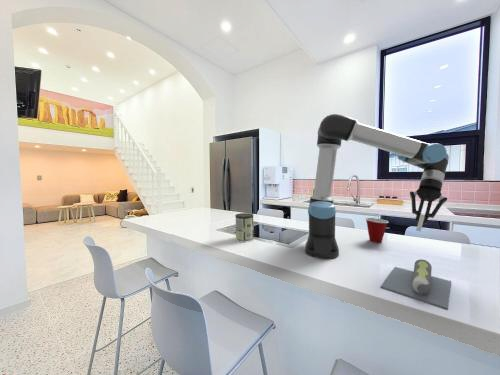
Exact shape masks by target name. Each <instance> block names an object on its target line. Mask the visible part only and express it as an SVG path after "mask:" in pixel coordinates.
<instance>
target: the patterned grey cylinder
mask: <svg viewBox="0 0 500 375" xmlns="http://www.w3.org/2000/svg"><path fill="white" fill-rule="evenodd" d="M413 271H414V273H413V281H412V282H413V284H412V286H413V289H414V290H415V291H416V292H417V293H419V294H427V293H428V292H429V291H430V287H431V276H432V264H431V263H430V262H428V261H427V260H426V259H422V258H421V259H417V260H416V261H415V262H414V266H413Z"/></svg>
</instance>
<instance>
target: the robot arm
mask: <svg viewBox="0 0 500 375" xmlns="http://www.w3.org/2000/svg"><path fill="white" fill-rule="evenodd" d="M342 141H345V142H348V141H354V142H356V143H357V142H358V143H361V144H363V145H366V146H370V147H373V148H376V149H379V150H383V151H385V152H389V153H393V154H395V155H397V156H396V158H397V159H398V160H399V161H401V162H403V163H406V164H409V165H412V166H415V167H416V168H419V169H422V170H423V173H422V174H421V179H420V183H419V185H418V189H416V191H410V192H409V196H410V199H411V213H412V214H413V215H416V216H415V220H414V222H415V223H417V226H416V230H415V231H417V232H421V231H422V228H423V225H427V223H428V221H429V220H428V219H430V218H431V219H433V218H435V217H436V215H437V213H438V212H439V210H440V209H441V207H442V205H444V204H445V203H447V201H448V197H445V196H443V195H442V193H441V192H442V188H443V183H444V180H445V175H446V173H447V172H446V171H447V169H448V164H449V159H450V158H449V156H450V155H449V154H448V153H447V148H446V146H444V145H443V144H441V143H437V142H435V143H433V142H432V143H427V142H424V141H421V140H417V139H414V138H411V137H409V136H408V137H407V136H404V135H401V134H399V133H398V134H397V133H394V132H390V131H387V130H384V129H380V128H377V127H373V126H370V125H367V124H363V123H360V122H359V121H358V120H357V119H356V118H352V117H349V116H346V115H343V114H342V115H341V114H338V113H337V114H336V113H334V114H329V115H326V116H325V117H324V118H323V119H322V120H321V121H320V124H319V127H318V130H317V142H316V146H317V148H318V149H319V150H318V158H317V166H316V173H315V181H314V188H313V189H314V190H313V194H312V195H311V196H310V197H309V205H308V208H307V215H308V235H307V236H308V237H307V240H306V243H305V245H304V253H305V254H307V255H308V256H310V257H314V258H318V259H325V260H326V259H327V260H328V259H336V258H338V257H339V256H340V249H339V245H338V242H337V238H336V214H337V209H336V205H335V204H334V199H333V198H332V190H333V189H332V188H333V184H334V183H333V182H334V175H335V169H336V168H335V167H336V162H337V153H338V150H339V149H340V148H341V146H342ZM417 197H418V198H419V199H420V200H419V206H418V209H417V204H416V202H417V201H416V198H417ZM436 200H438V203H437V204H436V206H435V207H434V209H433V210H432V212H431V208H432V204H433V202H435V201H436ZM425 202H427V206H426V210H425V212H424V214H422V211H423V207H424V203H425ZM430 212H431V213H430Z"/></svg>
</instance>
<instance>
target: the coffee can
mask: <svg viewBox="0 0 500 375" xmlns="http://www.w3.org/2000/svg"><path fill="white" fill-rule="evenodd" d="M234 217H235V239H237V240H238V242H240V241H248V242H252V241H253V240H254V214H253V213H249V212H242V213H236V214H235V216H234ZM237 240H236V241H237Z"/></svg>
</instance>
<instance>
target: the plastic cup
mask: <svg viewBox="0 0 500 375" xmlns="http://www.w3.org/2000/svg"><path fill="white" fill-rule="evenodd" d="M365 220H366V226H367V232H368V237H369V241H370V242H373V243H382V242H383V240H384V235H385V232H386V227H387V225H388V224H389V221H388V220H387V219H386V220H385V219H381V218H376V217H366V218H365Z"/></svg>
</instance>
